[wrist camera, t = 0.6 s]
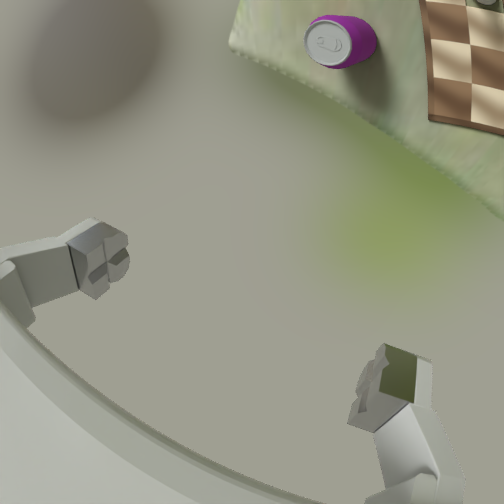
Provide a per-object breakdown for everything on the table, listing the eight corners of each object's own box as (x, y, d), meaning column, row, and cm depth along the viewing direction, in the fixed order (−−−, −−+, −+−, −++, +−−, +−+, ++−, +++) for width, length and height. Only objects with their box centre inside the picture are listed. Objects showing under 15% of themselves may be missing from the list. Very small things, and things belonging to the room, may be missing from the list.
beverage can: (328, 54, 41) (295, 63, 35) (333, 11, 36) (300, 10, 29) (374, 67, 39) (351, 78, 32) (381, 23, 33) (360, 21, 26)
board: (410, -41, 23) (410, -41, 22) (503, -28, 15) (503, -28, 15) (428, 118, 39) (428, 119, 39) (510, 136, 31) (510, 137, 31)
